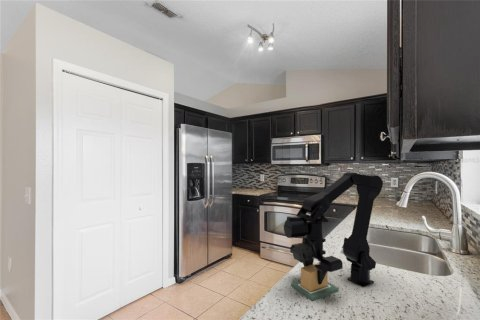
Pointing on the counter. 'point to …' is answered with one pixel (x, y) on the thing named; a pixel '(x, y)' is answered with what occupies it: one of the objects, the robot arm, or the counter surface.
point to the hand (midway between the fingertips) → (314, 280)
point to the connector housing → (312, 278)
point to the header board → (315, 293)
